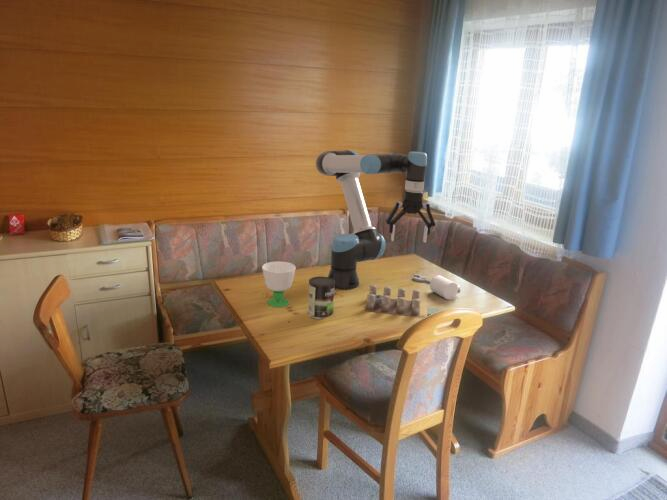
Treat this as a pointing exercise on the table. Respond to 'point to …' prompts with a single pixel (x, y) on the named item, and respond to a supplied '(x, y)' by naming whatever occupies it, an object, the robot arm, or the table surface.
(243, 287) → the table surface
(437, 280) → the mug
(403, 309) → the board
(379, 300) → the nut
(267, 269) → the cup
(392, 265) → the table surface
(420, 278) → the adjustable wrench
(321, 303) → the coffee can
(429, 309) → the pad
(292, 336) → the table surface
